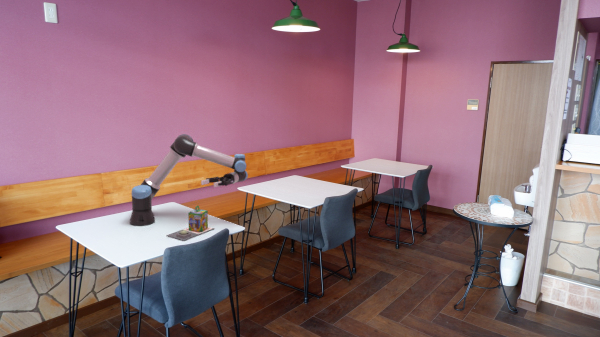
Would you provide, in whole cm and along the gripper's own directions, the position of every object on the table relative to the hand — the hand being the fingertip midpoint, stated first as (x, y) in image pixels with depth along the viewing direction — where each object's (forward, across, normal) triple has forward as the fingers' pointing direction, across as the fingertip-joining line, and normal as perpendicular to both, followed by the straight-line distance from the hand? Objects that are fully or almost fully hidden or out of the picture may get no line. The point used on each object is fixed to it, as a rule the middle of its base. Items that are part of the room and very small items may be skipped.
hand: (207, 184), depth 248 cm
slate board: (+15, 0, -28) cm, 32 cm away
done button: (+23, -2, -26) cm, 35 cm away
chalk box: (+9, 0, -28) cm, 29 cm away
